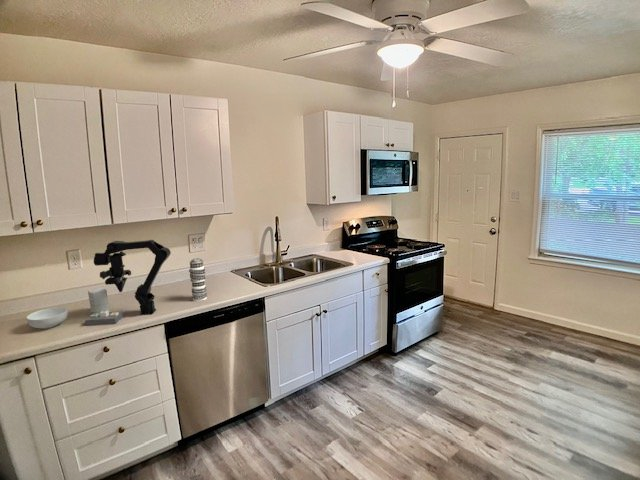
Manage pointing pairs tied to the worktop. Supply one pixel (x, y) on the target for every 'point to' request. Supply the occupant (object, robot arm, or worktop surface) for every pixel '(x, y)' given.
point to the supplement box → (98, 300)
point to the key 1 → (94, 315)
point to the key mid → (104, 313)
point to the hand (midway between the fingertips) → (120, 291)
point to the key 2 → (114, 314)
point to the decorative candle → (198, 279)
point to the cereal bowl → (47, 317)
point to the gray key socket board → (104, 319)
